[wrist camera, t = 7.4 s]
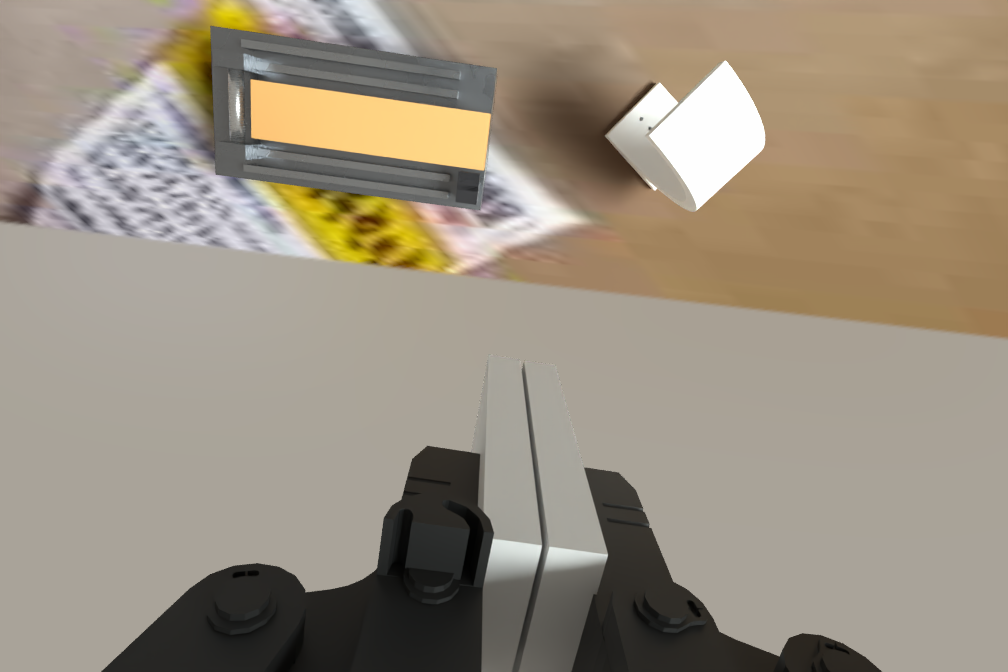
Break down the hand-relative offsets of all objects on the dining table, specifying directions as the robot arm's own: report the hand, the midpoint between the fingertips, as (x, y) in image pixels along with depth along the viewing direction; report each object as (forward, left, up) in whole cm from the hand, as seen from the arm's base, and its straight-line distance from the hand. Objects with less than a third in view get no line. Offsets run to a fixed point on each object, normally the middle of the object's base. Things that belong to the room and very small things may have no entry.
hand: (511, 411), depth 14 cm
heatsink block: (-10, -6, -28) cm, 30 cm away
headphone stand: (-1, +12, -28) cm, 31 cm away
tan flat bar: (-9, -4, -22) cm, 24 cm away
